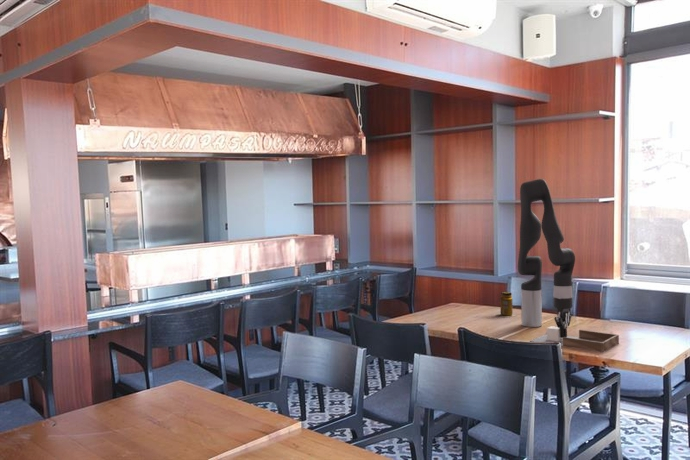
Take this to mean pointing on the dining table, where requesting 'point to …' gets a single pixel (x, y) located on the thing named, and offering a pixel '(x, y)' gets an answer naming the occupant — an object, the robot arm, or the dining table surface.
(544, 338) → the slate board
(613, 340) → the tray
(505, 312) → the condiment
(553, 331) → the cream cube
